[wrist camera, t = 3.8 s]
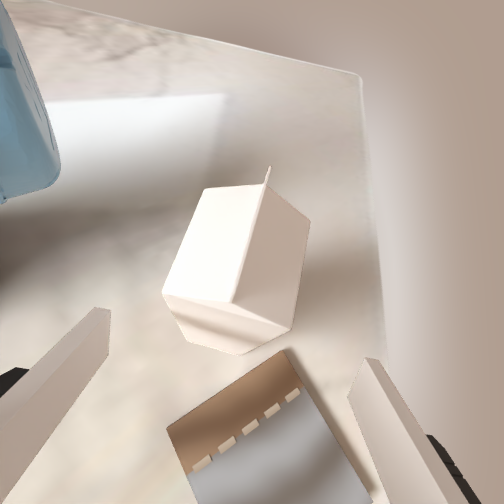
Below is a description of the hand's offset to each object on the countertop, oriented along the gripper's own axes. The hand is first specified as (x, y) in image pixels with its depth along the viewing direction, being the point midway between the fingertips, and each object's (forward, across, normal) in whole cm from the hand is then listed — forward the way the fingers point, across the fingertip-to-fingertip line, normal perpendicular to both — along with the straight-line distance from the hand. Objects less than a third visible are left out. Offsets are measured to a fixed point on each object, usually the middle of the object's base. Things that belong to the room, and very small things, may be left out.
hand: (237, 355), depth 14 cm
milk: (+14, -1, -8) cm, 17 cm away
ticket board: (+6, +6, -16) cm, 19 cm away
